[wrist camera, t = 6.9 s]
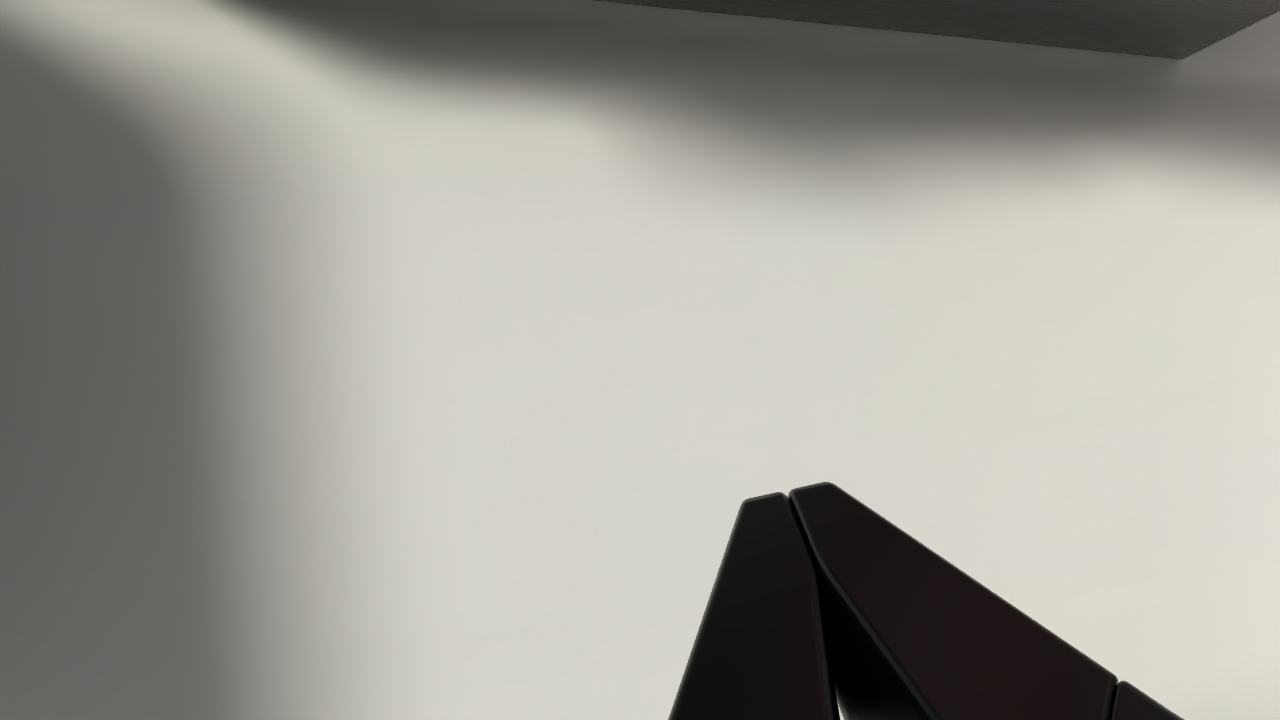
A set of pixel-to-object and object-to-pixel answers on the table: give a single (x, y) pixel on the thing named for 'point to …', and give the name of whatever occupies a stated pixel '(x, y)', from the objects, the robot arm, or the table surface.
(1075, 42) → the grey cartridge tray
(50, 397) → the table surface
